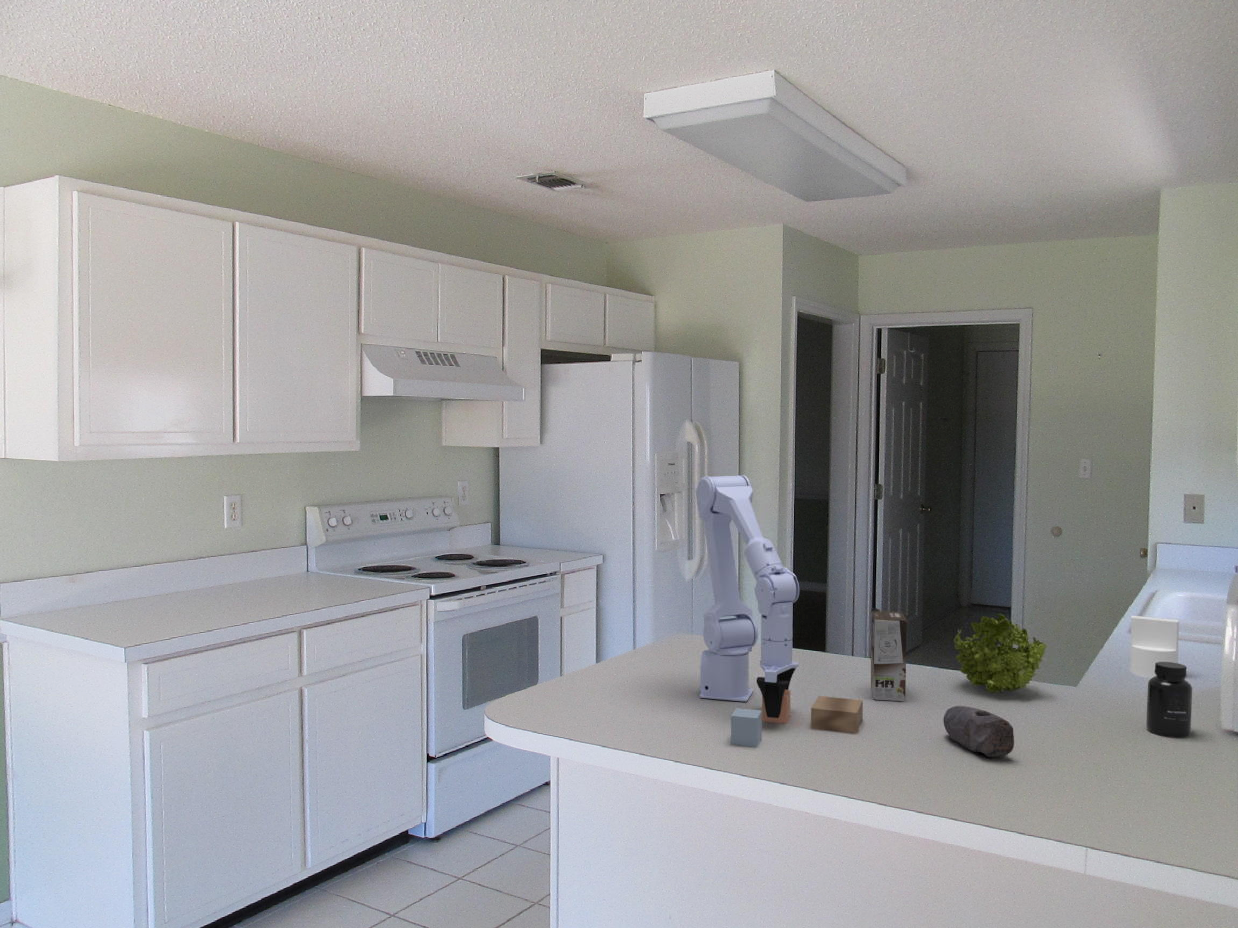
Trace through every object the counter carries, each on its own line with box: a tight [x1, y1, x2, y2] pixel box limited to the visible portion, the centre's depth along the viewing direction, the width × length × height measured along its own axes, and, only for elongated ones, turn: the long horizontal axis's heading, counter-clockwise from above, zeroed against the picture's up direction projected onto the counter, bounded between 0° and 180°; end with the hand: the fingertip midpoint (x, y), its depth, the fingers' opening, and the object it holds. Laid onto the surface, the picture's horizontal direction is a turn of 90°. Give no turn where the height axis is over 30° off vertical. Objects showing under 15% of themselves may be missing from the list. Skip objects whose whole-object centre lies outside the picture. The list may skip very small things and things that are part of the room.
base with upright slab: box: [1129, 615, 1180, 679], centre depth 206 cm, size 9×9×12 cm
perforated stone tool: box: [942, 705, 1015, 758], centre depth 160 cm, size 15×5×7 cm, turn 17°
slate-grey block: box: [730, 707, 763, 748], centre depth 164 cm, size 4×4×5 cm
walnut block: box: [810, 695, 864, 735], centre depth 173 cm, size 8×8×4 cm
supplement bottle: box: [1145, 662, 1193, 738], centre depth 168 cm, size 7×7×12 cm
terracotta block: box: [761, 689, 791, 725], centre depth 176 cm, size 4×4×5 cm
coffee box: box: [870, 610, 908, 702], centre depth 191 cm, size 9×6×16 cm
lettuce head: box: [953, 613, 1047, 694], centre depth 194 cm, size 18×16×16 cm
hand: (776, 710), depth 176 cm, fingers open, 7 cm apart
